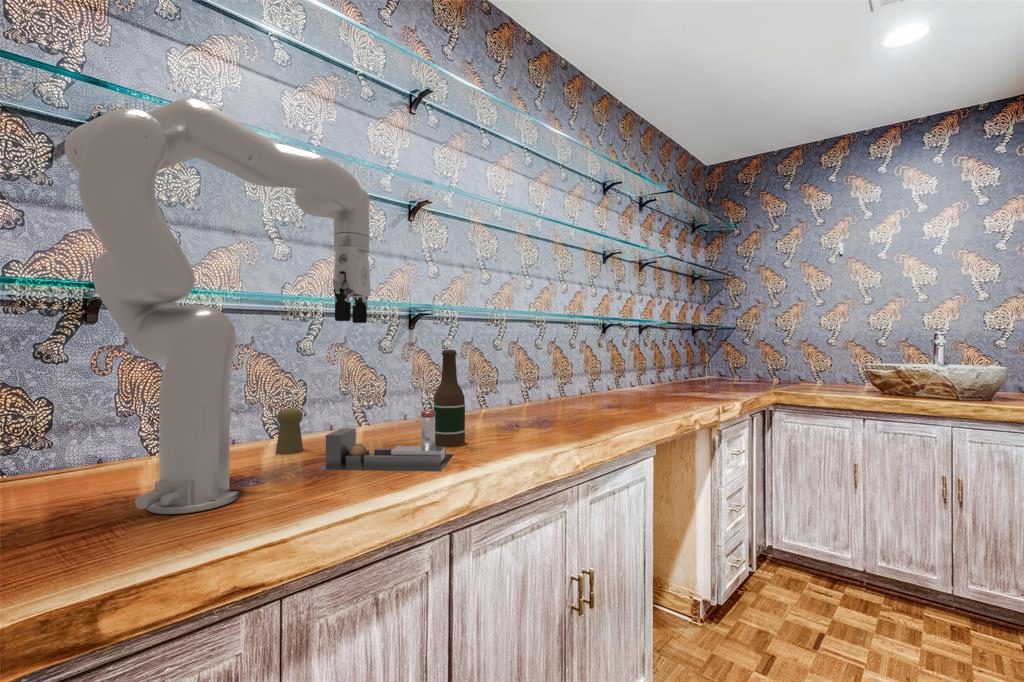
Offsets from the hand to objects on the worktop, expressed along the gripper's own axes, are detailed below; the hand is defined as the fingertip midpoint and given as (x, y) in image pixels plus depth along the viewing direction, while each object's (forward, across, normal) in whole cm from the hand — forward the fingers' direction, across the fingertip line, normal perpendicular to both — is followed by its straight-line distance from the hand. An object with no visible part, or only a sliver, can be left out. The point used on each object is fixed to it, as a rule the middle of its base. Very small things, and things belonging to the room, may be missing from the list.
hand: (351, 322), depth 108 cm
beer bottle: (+31, +10, -20) cm, 38 cm away
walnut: (+29, -8, -4) cm, 30 cm away
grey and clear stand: (+29, -8, -17) cm, 34 cm away
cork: (+31, 0, +14) cm, 34 cm away
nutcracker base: (+30, -8, -11) cm, 33 cm away
